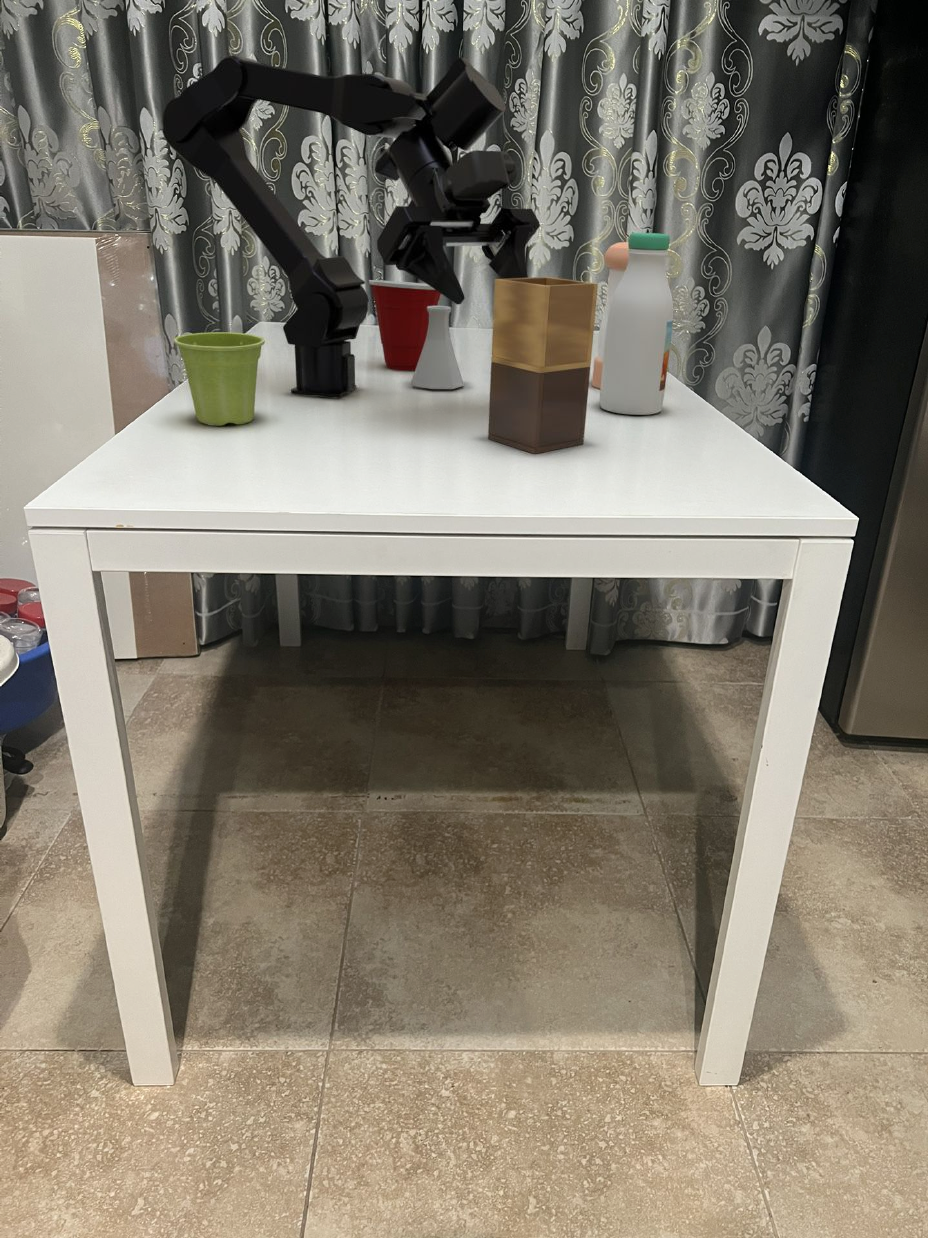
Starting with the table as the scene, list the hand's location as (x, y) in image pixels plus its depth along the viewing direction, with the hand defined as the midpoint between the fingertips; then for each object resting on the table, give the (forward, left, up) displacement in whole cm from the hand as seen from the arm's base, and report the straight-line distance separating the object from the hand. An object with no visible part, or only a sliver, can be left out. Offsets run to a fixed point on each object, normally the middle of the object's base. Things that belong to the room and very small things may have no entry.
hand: (494, 299), depth 95 cm
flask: (-12, +20, -14) cm, 27 cm away
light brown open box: (+6, -4, -5) cm, 9 cm away
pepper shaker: (+11, +30, -14) cm, 34 cm away
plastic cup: (-20, +31, -14) cm, 39 cm away
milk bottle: (+14, +16, -14) cm, 25 cm away
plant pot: (-28, -8, -14) cm, 32 cm away
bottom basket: (+6, -4, -13) cm, 15 cm away
